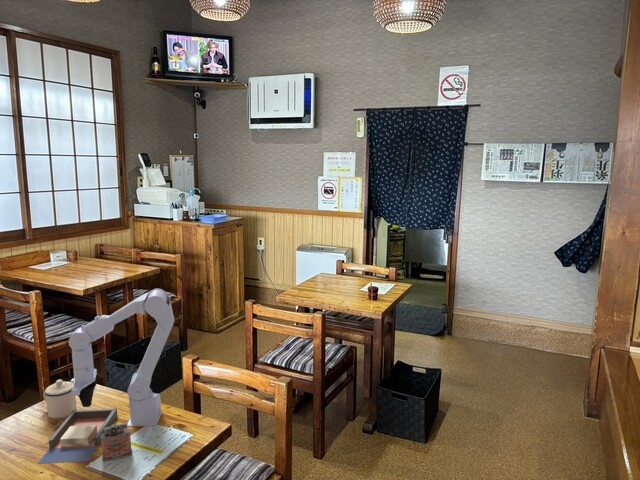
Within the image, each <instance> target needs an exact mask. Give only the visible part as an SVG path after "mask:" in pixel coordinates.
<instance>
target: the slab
mask: <svg viewBox="0 0 640 480" xmlns="http://www.w3.org/2000/svg"><path fill="white" fill-rule="evenodd" d="M96 433H97V425H84V426H70V427H69V428H68V430H67V431H66V432H65V433H64V435H63V436H62V437H61V439H60V444H61V447H67V446H87V445H89V444H90V442H91V441H92V439H93V438H94V436H95V435H96Z"/></svg>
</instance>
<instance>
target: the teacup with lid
mask: <svg viewBox="0 0 640 480" xmlns="http://www.w3.org/2000/svg"><path fill="white" fill-rule="evenodd" d="M73 384H74V383H71V381H65V380H64V381H63V379H57V380H56V381H55V383H52V384H51V385H49V386H48V387H46V388H45V390H44V392H43V394H42V395H43V396H42V397H43V400H44V402H45V403H46V409H47V416H48V418H50V419H60V418H66V417H68V416H69V415H70V414H71V413H72V411H73V410H78V409H77V399H76V396H72V389H73Z"/></svg>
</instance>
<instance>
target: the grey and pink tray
mask: <svg viewBox="0 0 640 480" xmlns="http://www.w3.org/2000/svg"><path fill="white" fill-rule="evenodd" d="M66 417H67V418H66V419H64V421H63V422H62V423H61V425H60V426H59V427H58V428H57V430H56V431H55V432H54V433H53V435H52V436H51V437H50V438H49V439H48V445H49V446H48V447H49V448H48V449H54V448H74V447H94V446H98V447H99V445H100V444H101V440H100V436H101V435H102V434H104V433H105V432H104V428H106V427H110V426H111V425H112V424H114V422H115V420H116V418H117V417H118V408H99V409H94V408H93V409H92V408H91V409H76V410H73V411H72V413H71V414H70V415H69V416H66ZM84 425H97V433H96V435H95V436H94V438H93V439H92V441H91V442H90V444H89V445H87V446H67V447H61V444H60V439H61V437H62V436H63V435H64V433H65V432H66V431H67V430H68V428H69V427H70V426H84Z"/></svg>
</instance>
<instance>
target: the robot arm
mask: <svg viewBox="0 0 640 480" xmlns="http://www.w3.org/2000/svg"><path fill="white" fill-rule="evenodd" d="M146 313H147V314H148V315H150V316H151V317H152V318H153V319H154V320H155V321H156V324H157V325H156V327H155V329H154V332H153V335H152V337H151V339H150V342H149V345H148V346H147V348H146V351H145V353H144V356H143V357H142V358H143V359H142V360H141V362H140V364H139V367H138V369H137V370H136V371H135V372H134V373H133V374H132V376H131V379H130V380H131V381H130V383H129V386H128V388H127V396H128V404H129V406H128V407H129V416H130V418H129V420H128V422H127V426H128V427H148V426H151V427H153V426H157V425H158V423H159V421H160V419H161V416H162V414H163V411H162V401H161V400H162V399H161V398H162V397H161V394H160V393H155V392H153V390H152V389H151V387H150V385H151V382H152V376H153V374H154V371H155V368H156V366H157V364H158V362H159V360H160V358H161V357H160V356H161V355H162V351H163V350H164V347H165V345H166V343H167V340H168V338H169V336H170V333H171V331H172V329H173V326H174V324H175V323H174V322H175V316H174V311H173V308H172V302H171V297H170V296H169V295H168V293H167V291H165V290H164V289H161V288H154V289H152V290H150V291H149V293H148V292H146V293H143V294H142V295H140V296H138V297H136V298H135V299H133V300H132V301H130V302H129V303H127V304H126V305H124V306H122V307H121V308H119V309H117V310H116V311H114V312H113V313H111V314H110V315H106V314H103V315H97V316H95V317H94V320H91V321H90V322H88V323H87V324H82V325H81V326H80V327H77V328H76V329H75V330H74V331H73V332H72V334H71V335H70V337H69V339H68V346H69V347H70V348H71V358H72V359H71V360H72V369H73V378H72V379H71V380H70V382H71V383H74V384H73V389H72V396H75V397H78V398H79V400H80V402H81V403H80V404H81V405H82V407H83V408H90V407H91V405H92V403H93V397H94V392H95V388H96V386H97V384H98V381H96V377H97V375H98V371H97V370H98V369H97V368H95V365H94V354H93V349H92V342H95V341H97V340H99V339H101V338H103V337H104V336H106V335H107V334H109V333H110V332H112V331H114V328H115V325H117V324H118V323H120V322H122V321H124V320H126V319H128V318H130V317H132V316H133V315H135V314H141V315H146Z"/></svg>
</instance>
